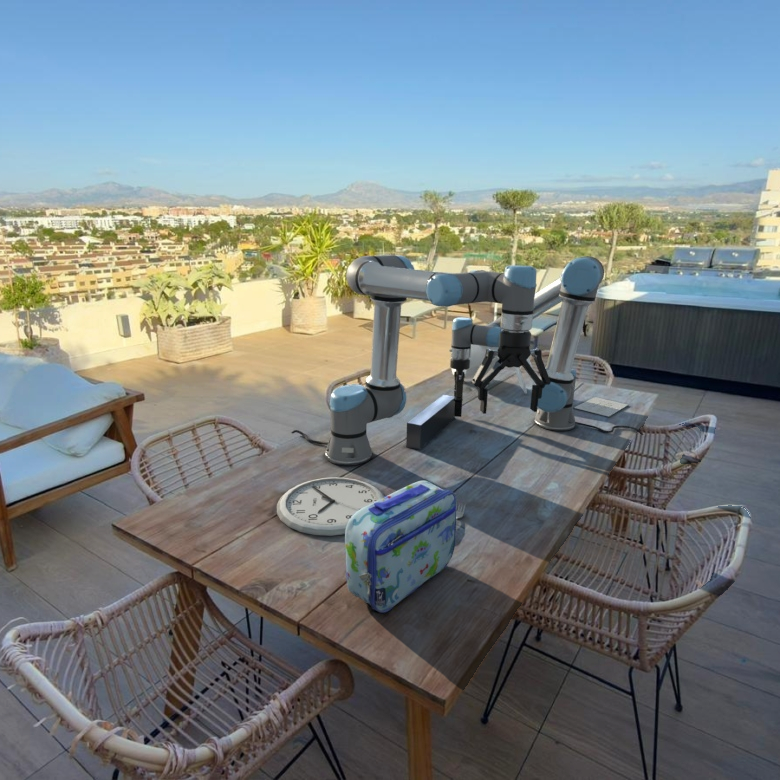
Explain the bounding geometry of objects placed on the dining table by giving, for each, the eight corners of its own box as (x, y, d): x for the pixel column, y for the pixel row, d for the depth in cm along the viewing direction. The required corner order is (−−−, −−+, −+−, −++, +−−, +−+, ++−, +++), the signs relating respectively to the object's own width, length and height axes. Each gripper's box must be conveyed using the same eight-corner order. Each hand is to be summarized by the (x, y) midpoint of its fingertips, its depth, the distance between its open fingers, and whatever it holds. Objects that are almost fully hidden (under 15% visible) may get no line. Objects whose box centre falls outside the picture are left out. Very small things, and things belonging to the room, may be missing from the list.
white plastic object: (472, 423, 260) (450, 400, 235) (454, 348, 282) (432, 320, 258) (544, 398, 248) (529, 371, 223) (519, 323, 270) (503, 291, 245)
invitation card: (608, 416, 214) (573, 407, 224) (608, 416, 214) (573, 408, 224) (628, 404, 229) (594, 396, 238) (628, 405, 229) (594, 397, 238)
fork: (441, 539, 128) (441, 532, 127) (456, 508, 142) (456, 501, 141) (451, 541, 127) (452, 534, 126) (465, 510, 141) (466, 503, 141)
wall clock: (392, 527, 129) (268, 531, 127) (391, 533, 130) (269, 537, 127) (383, 473, 158) (282, 475, 155) (383, 478, 158) (282, 480, 156)
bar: (442, 415, 212) (443, 394, 209) (454, 418, 210) (455, 396, 207) (406, 446, 182) (406, 422, 179) (420, 449, 179) (420, 425, 177)
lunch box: (374, 626, 100) (375, 530, 93) (338, 598, 107) (337, 508, 101) (459, 568, 117) (465, 484, 111) (424, 547, 124) (427, 467, 118)
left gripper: (471, 333, 124) (465, 417, 130) (570, 332, 127) (560, 414, 133) (462, 327, 131) (457, 407, 137) (556, 326, 134) (547, 404, 141)
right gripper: (450, 350, 214) (447, 401, 220) (451, 365, 191) (448, 421, 197) (468, 351, 213) (465, 402, 219) (471, 366, 190) (468, 422, 197)
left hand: (508, 411), depth 135 cm, fingers open, 13 cm apart
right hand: (457, 411), depth 208 cm, fingers open, 11 cm apart
